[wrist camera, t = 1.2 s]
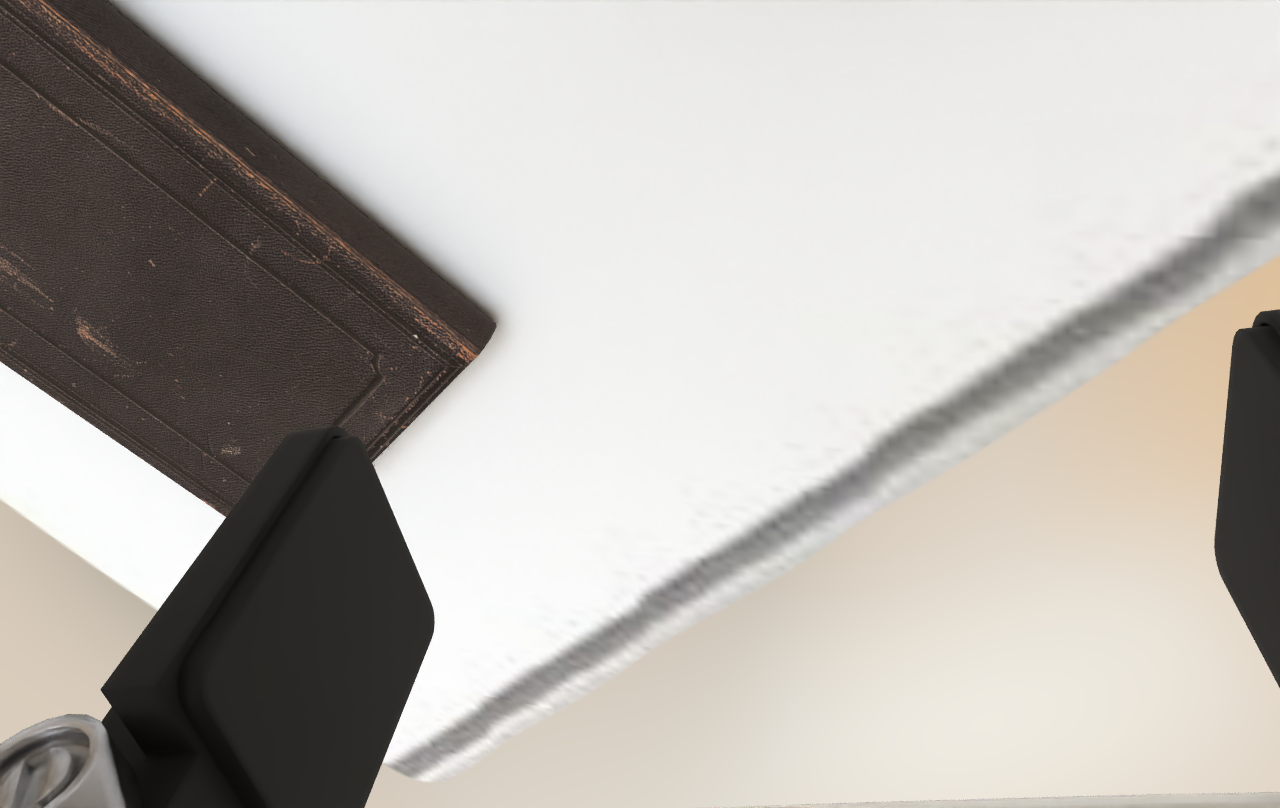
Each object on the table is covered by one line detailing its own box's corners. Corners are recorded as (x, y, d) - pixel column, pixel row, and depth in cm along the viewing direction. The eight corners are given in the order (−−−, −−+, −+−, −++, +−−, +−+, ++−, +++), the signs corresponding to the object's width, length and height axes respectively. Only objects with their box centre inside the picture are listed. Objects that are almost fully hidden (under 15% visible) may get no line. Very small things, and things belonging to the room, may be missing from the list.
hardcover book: (300, 524, 49) (280, 556, 47) (-157, 203, 43) (-201, 224, 41) (501, 318, 42) (488, 345, 40) (-13, -109, 35) (-59, -101, 33)
